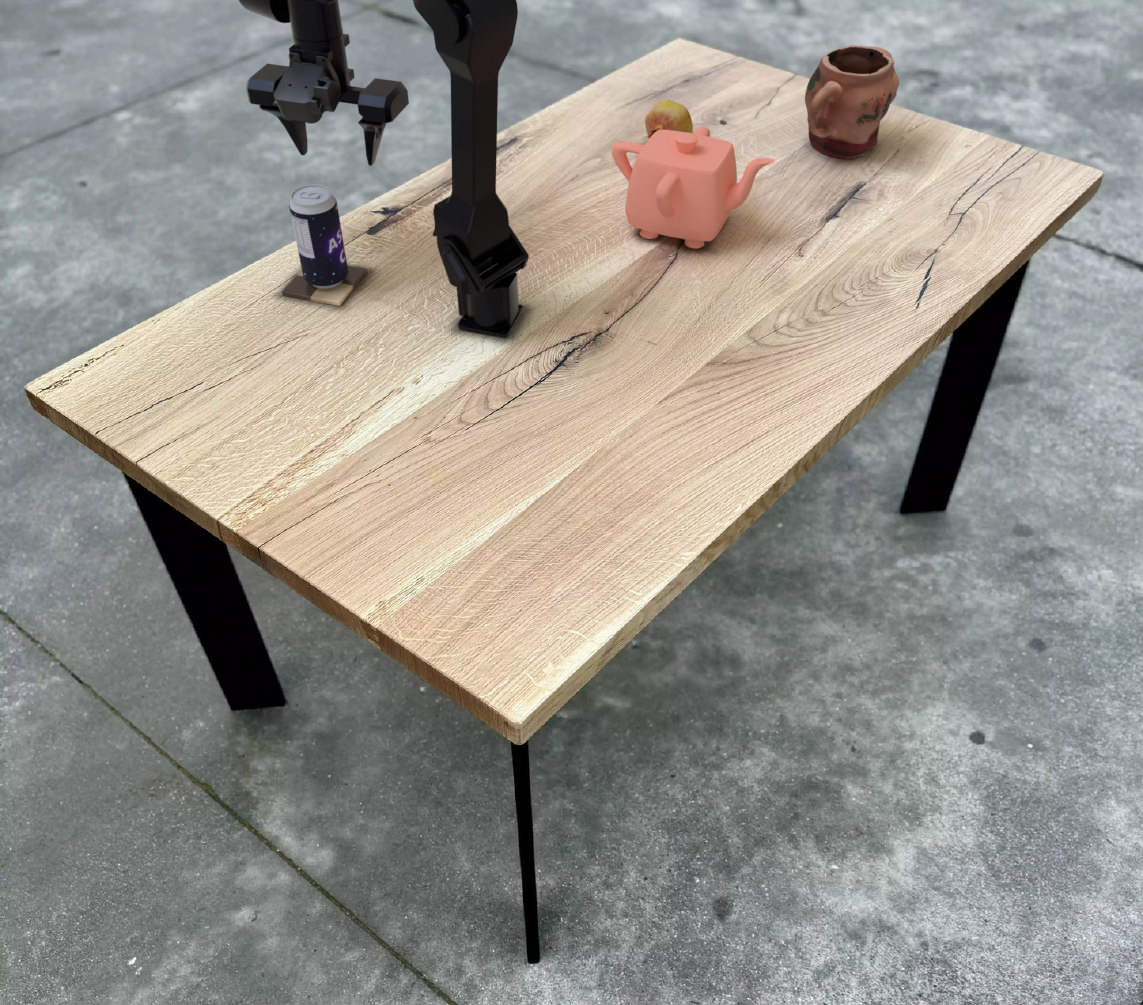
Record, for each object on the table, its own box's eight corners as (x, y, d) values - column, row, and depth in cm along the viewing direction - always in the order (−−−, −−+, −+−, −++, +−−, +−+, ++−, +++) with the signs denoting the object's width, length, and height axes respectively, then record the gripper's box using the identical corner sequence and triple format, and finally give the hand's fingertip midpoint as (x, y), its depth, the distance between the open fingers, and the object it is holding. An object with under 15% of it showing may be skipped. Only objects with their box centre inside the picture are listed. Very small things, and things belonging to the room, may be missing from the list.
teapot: (603, 212, 152) (605, 123, 143) (701, 188, 157) (709, 100, 148) (661, 273, 142) (667, 180, 132) (764, 245, 147) (777, 153, 137)
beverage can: (340, 294, 137) (325, 208, 129) (297, 289, 138) (279, 203, 129) (355, 270, 141) (341, 185, 133) (314, 265, 142) (297, 180, 133)
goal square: (367, 272, 142) (366, 268, 141) (339, 306, 136) (339, 302, 136) (311, 262, 143) (310, 258, 143) (282, 295, 138) (281, 291, 138)
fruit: (659, 89, 167) (630, 113, 161) (700, 87, 164) (672, 112, 158) (666, 133, 171) (637, 159, 165) (706, 132, 168) (679, 158, 162)
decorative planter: (844, 188, 157) (862, 94, 148) (769, 163, 162) (782, 71, 153) (903, 136, 169) (923, 46, 159) (831, 115, 174) (847, 26, 164)
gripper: (209, 50, 122) (239, 179, 133) (363, 71, 118) (380, 201, 129) (257, 13, 129) (281, 138, 140) (403, 32, 125) (416, 158, 136)
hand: (337, 159), depth 136 cm, fingers open, 9 cm apart
